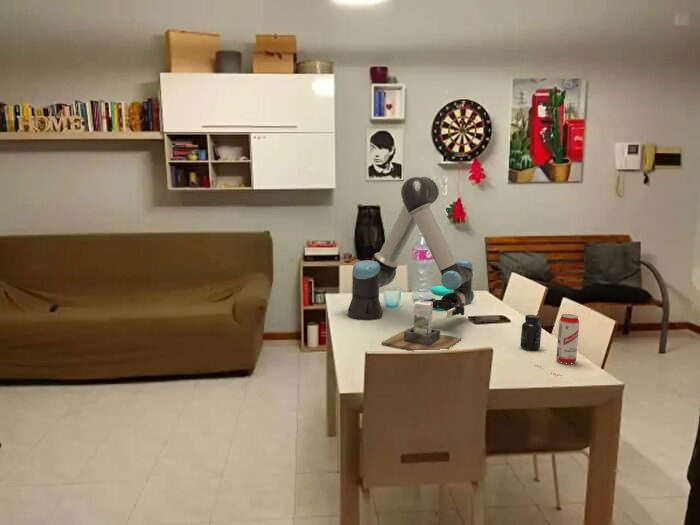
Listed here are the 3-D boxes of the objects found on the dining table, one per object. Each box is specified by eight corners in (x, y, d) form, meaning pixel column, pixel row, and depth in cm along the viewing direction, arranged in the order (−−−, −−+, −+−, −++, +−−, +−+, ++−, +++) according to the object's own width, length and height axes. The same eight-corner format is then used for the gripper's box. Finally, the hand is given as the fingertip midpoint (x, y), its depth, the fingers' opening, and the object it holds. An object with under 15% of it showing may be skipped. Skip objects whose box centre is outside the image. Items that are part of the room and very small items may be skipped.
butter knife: (557, 376, 174) (564, 375, 175) (506, 353, 195) (513, 352, 197) (557, 378, 174) (564, 376, 175) (506, 354, 195) (513, 353, 197)
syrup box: (431, 338, 208) (433, 300, 206) (428, 343, 202) (429, 304, 200) (416, 337, 210) (418, 299, 207) (412, 341, 204) (414, 302, 202)
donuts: (457, 288, 256) (442, 290, 250) (456, 309, 258) (441, 312, 252) (441, 284, 264) (426, 286, 258) (440, 305, 265) (425, 307, 259)
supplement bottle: (541, 351, 198) (543, 319, 196) (521, 350, 200) (523, 317, 198) (538, 346, 205) (541, 314, 203) (519, 344, 206) (521, 313, 204)
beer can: (552, 358, 191) (556, 313, 188) (570, 358, 192) (574, 313, 189) (561, 365, 185) (565, 318, 182) (579, 364, 185) (583, 318, 183)
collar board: (381, 344, 203) (381, 332, 202) (408, 330, 221) (408, 319, 221) (437, 356, 191) (438, 343, 191) (461, 340, 210) (461, 329, 209)
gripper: (481, 315, 222) (461, 327, 204) (424, 306, 235) (401, 316, 217) (482, 296, 220) (462, 307, 203) (425, 288, 234) (401, 297, 216)
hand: (430, 312), depth 210 cm, fingers open, 13 cm apart
